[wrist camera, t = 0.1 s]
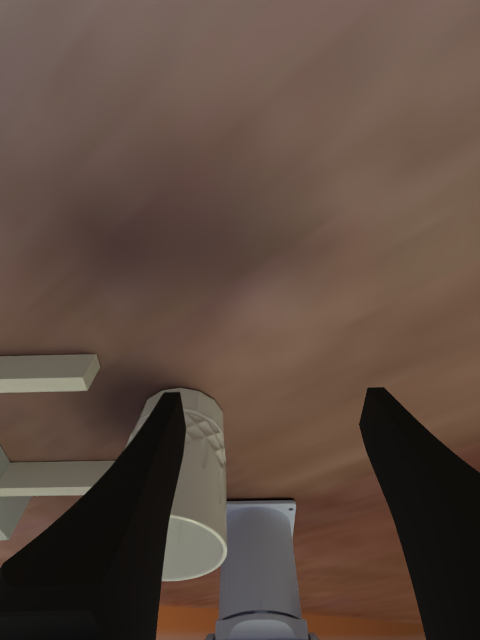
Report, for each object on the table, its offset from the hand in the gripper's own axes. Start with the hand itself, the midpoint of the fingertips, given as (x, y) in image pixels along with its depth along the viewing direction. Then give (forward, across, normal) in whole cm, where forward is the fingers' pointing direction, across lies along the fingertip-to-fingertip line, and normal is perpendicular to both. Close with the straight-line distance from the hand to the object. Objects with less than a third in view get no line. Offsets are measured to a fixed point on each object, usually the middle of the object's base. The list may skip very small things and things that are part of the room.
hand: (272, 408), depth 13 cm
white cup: (+10, +6, +11) cm, 17 cm away
